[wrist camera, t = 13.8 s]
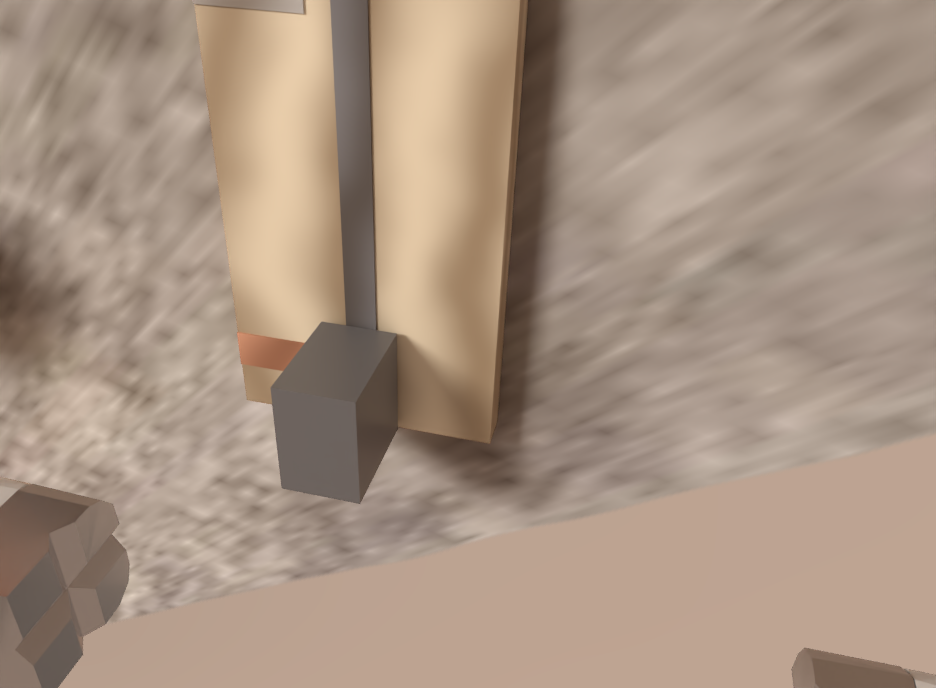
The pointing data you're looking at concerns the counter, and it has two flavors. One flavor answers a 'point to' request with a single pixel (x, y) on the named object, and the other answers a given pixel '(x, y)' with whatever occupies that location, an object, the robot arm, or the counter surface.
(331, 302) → the fader panel
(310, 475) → the fader
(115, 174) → the counter surface
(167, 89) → the counter surface
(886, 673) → the robot arm
